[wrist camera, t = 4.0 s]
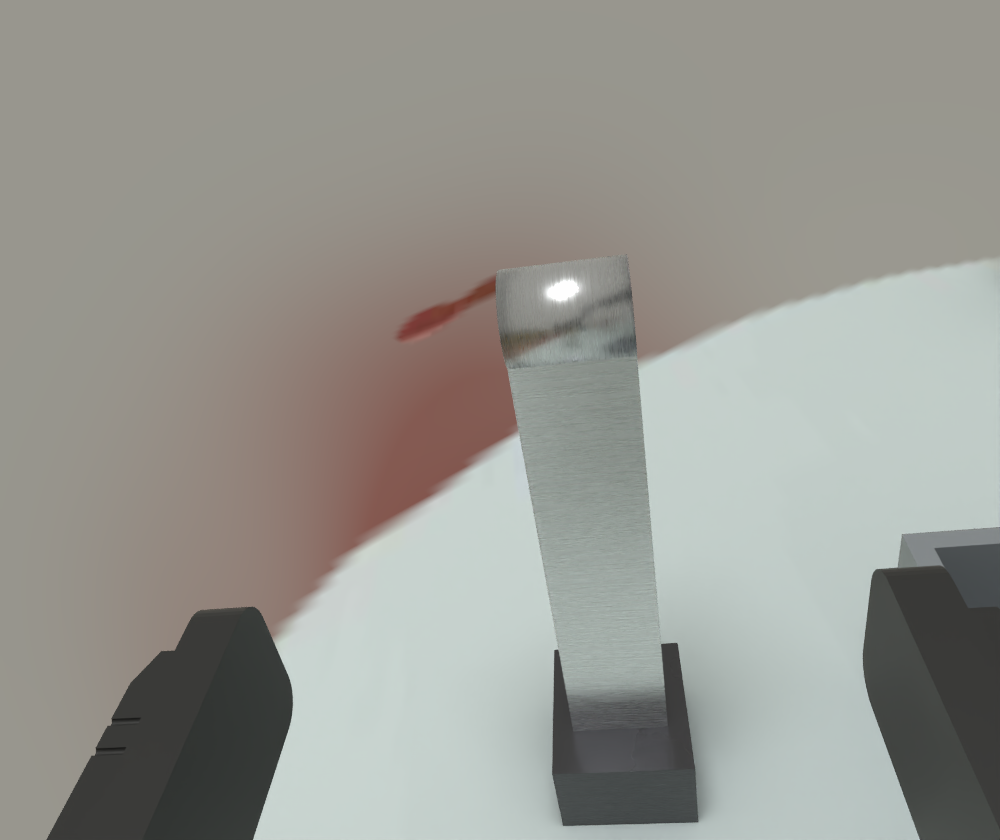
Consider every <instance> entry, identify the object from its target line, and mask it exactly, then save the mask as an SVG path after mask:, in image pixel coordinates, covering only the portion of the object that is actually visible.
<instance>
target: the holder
mask: <svg viewBox="0 0 1000 840" xmlns="http://www.w3.org/2000/svg"><path fill="white" fill-rule="evenodd" d="M936 565H940V566H943V567H944V568H945V569H946V570H947V571H948V572H949V574H950V576H951V577H952V579H953V581H954V583H955V585H956V586H957V588H958V590H959V592H960V594H961V596H962V598H963V599H964V601H965V603H966V605H967V607H968V608H979V607H998V608H999V609H1000V527H996V528H982V529H968V530H954V531H941V532H927V533H913V534H902V539H901V547H900V554H899V562H898V568H904V567H920V566H936Z"/></svg>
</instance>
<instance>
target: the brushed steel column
mask: <svg viewBox="0 0 1000 840" xmlns="http://www.w3.org/2000/svg"><path fill="white" fill-rule="evenodd" d="M496 306H497V318H498V326H499V334H500V340H501V346H502V352H503V356H504V360H505V364H506V367H507V369H508V375H509V380H510V385H511V391H512V397H513V402H514V408H515V412H516V419H517V424H518V430H519V435H520V441H521V446H522V452H523V457H524V463H525V468H526V473H527V479H528V484H529V490H530V495H531V501H532V506H533V512H534V517H535V523H536V528H537V534H538V539H539V545H540V550H541V556H542V561H543V567H544V572H545V578H546V583H547V589H548V594H549V600H550V605H551V611H552V616H553V622H554V627H555V633H556V638H557V644H558V649H559V650H555V652H554V709H553V766H552V775H553V780H554V784H555V789H556V794H557V798H558V803H559V808H560V812H561V817H562V822H563V825H601V824H639V823H677V822H698V814H697V797H696V779H695V766H694V759H693V752H692V745H691V737H690V730H689V723H688V716H687V708H686V701H685V694H684V687H683V680H682V672H681V665H680V658H679V651H678V644H677V643H669V644H661V639H660V627H659V615H658V603H657V591H656V579H655V567H654V555H653V543H652V531H651V519H650V507H649V495H648V483H647V471H646V459H645V447H644V435H643V423H642V411H641V399H640V387H639V375H638V363H637V348H636V335H635V323H634V313H633V302H632V291H631V282H630V273H629V264H628V258H627V254H624V255H616V256H608V257H600V258H592V259H584V260H576V261H568V262H559V263H552V264H543V265H535V266H528V267H519V268H512V269H503V270H498V271H497V275H496Z"/></svg>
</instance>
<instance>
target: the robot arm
mask: <svg viewBox="0 0 1000 840" xmlns="http://www.w3.org/2000/svg"><path fill="white" fill-rule="evenodd" d="M863 669H864V677H865V683H866V688H867V692H868V696H869V700H870V703H871V706H872V709H873V711H874V714H875V717H876V720H877V722H878V725H879V728H880V731H881V733H882V736H883V739H884V742H885V744H886V747H887V750H888V753H889V755H890V758H891V761H892V764H893V766H894V769H895V772H896V775H897V777H898V780H899V783H900V786H901V788H902V791H903V794H904V797H905V799H906V802H907V805H908V808H909V811H910V813H911V816H912V819H913V822H914V824H915V827H916V830H917V833H918V835H919V838H920V840H1000V609H999V608H998V607H979V608H968V607H967V605H966V603H965V601H964V599H963V598H962V596H961V594H960V592H959V590H958V588H957V586H956V585H955V583H954V581H953V579H952V577H951V576H950V574H949V572H948V571H947V570H946V569H945V568H944V567H943V566H940V565H936V566H920V567H904V568H889V569H876V570H875V571H874V573H873V575H872V580H871V588H870V596H869V605H868V613H867V622H866V630H865V639H864V648H863ZM292 708H293V696H292V687H291V683H290V679H289V677H288V674H287V672H286V670H285V667H284V665H283V663H282V660H281V658H280V656H279V653H278V651H277V649H276V646H275V644H274V642H273V639H272V637H271V635H270V632H269V630H268V628H267V626H266V623H265V621H264V619H263V616H262V615H261V613H260V612H259V610H258V609H256V608H255V607H241V608H225V609H210V610H200V611H198V612H197V613H195V614H194V616H193V617H192V618H191V620H190V622H189V624H188V625H187V627H186V629H185V631H184V634H183V635H182V637H181V640H180V641H179V644H178V645H177V647H176V650H175V651H161V652H160V653H159V654H158V655H157V656H156V657H155V659H153V661H152V662H151V663H150V664H149V665H148V666H147V667H146V668H145V669H144V670H143V671H142V672H141V673H140V674H139V675H138V676H137V677H136V678H135V679H134V680H133V681H132V682H131V683H130V685H129V687H128V689H127V691H126V693H125V694H124V696H123V698H122V700H121V702H120V704H119V706H118V708H117V709H116V711H115V713H114V715H113V717H112V724H111V726H107V728H106V730H105V732H104V734H103V735H102V737H101V739H100V741H99V743H98V745H97V747H96V754H95V756H91V758H90V760H89V762H88V763H87V765H86V767H85V769H84V771H83V773H82V775H81V776H80V778H79V780H78V782H77V784H76V786H75V788H74V790H73V791H72V793H71V795H70V797H69V799H68V801H67V803H66V805H65V806H64V808H63V810H62V812H61V814H60V816H59V817H58V819H57V821H56V823H55V825H54V827H53V829H52V831H51V832H50V834H49V836H48V838H47V840H253V837H254V834H255V831H256V828H257V825H258V822H259V819H260V816H261V813H262V810H263V807H264V804H265V800H266V797H267V794H268V791H269V788H270V785H271V782H272V779H273V776H274V773H275V770H276V767H277V763H278V760H279V757H280V754H281V751H282V748H283V745H284V742H285V739H286V736H287V733H288V730H289V726H290V722H291V717H292Z"/></svg>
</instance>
